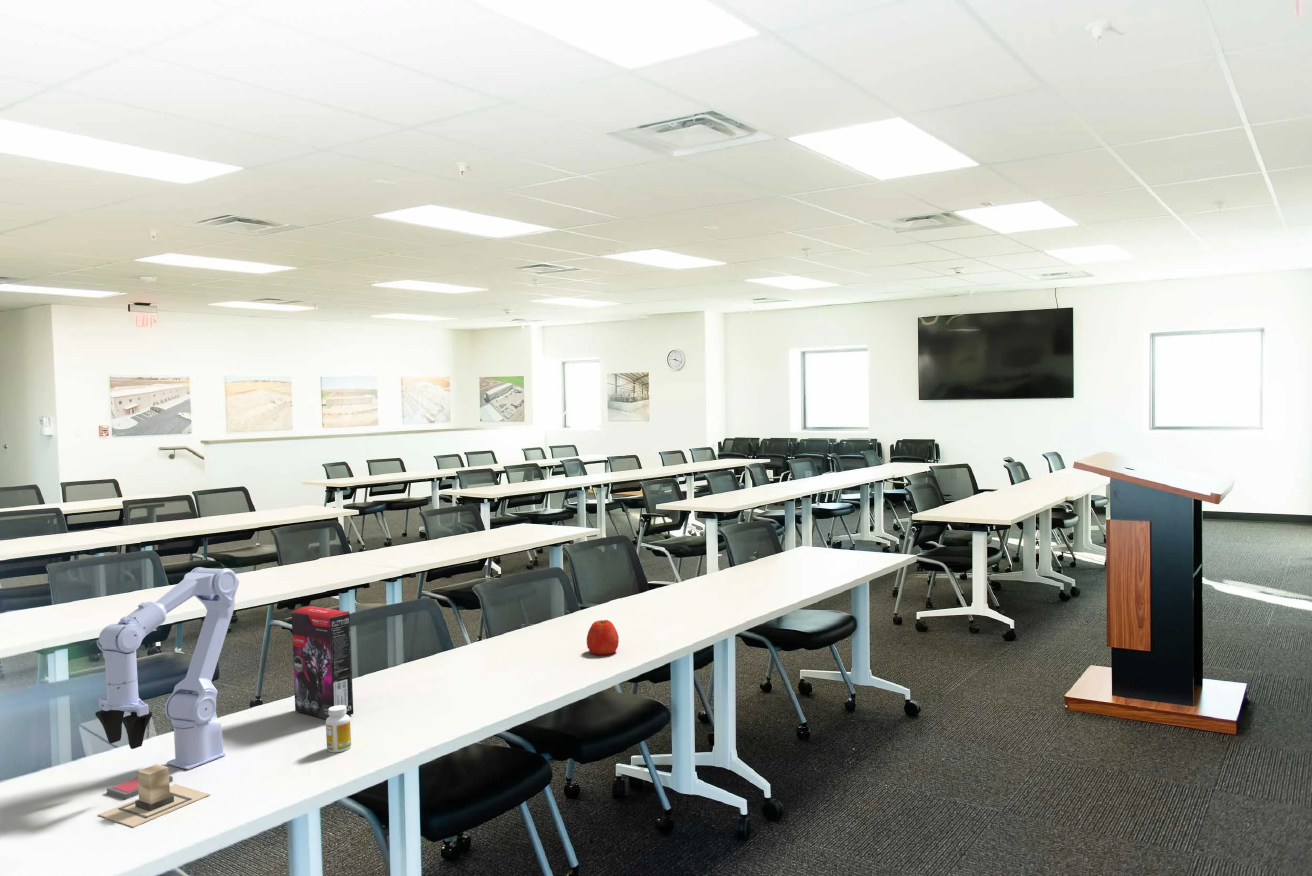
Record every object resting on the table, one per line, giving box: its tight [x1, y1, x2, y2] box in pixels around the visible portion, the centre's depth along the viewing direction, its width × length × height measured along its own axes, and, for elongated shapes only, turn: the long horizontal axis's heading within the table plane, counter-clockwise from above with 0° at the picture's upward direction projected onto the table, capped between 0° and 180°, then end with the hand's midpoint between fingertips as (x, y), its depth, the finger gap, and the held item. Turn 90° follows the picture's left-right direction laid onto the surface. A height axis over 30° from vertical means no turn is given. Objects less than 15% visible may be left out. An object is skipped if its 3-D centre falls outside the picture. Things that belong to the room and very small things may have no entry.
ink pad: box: [106, 775, 174, 800], centre depth 192 cm, size 10×7×1 cm
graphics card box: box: [291, 605, 354, 720], centre depth 236 cm, size 17×7×27 cm, turn 56°
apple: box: [586, 619, 620, 656], centre depth 287 cm, size 10×10×10 cm
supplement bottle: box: [325, 705, 352, 753], centre depth 211 cm, size 5×5×10 cm
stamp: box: [135, 763, 174, 811], centre depth 183 cm, size 5×5×7 cm
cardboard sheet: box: [97, 783, 211, 828], centre depth 183 cm, size 16×12×1 cm
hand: (125, 744), depth 190 cm, fingers open, 7 cm apart
